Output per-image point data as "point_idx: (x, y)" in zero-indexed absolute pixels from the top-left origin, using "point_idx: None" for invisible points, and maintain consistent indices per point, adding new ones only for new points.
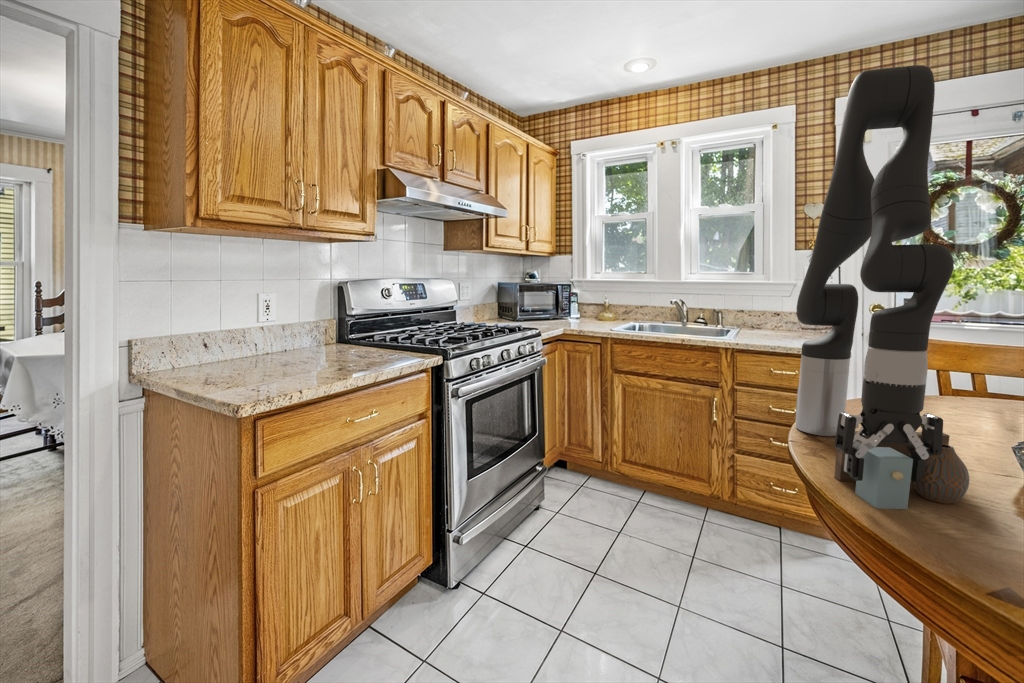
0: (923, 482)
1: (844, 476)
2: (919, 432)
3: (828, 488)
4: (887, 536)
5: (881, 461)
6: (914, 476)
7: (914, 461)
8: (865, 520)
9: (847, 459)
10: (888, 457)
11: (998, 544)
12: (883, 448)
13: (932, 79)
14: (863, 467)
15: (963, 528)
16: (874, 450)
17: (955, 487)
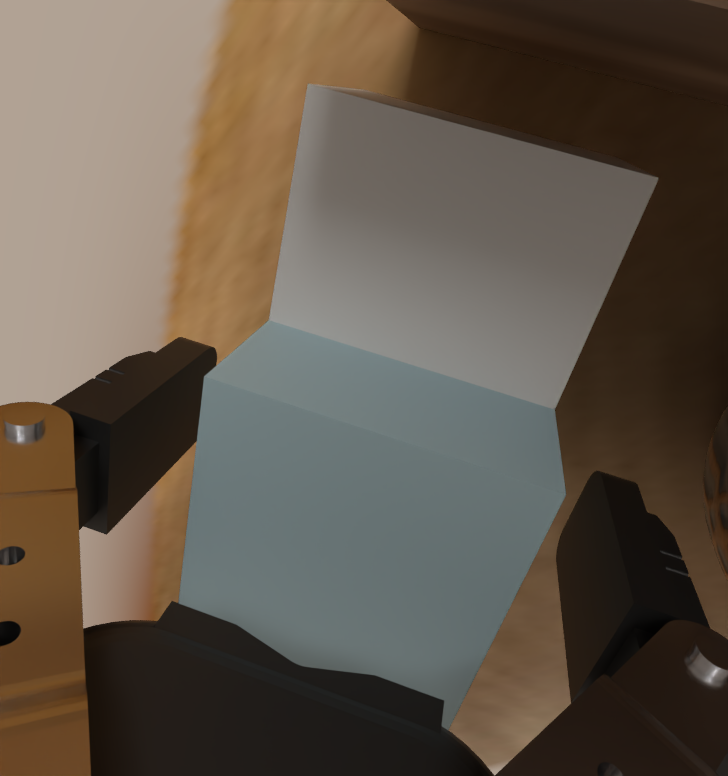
0: (707, 500)
1: (449, 30)
2: None
3: (242, 135)
4: (174, 575)
5: None
6: (565, 560)
7: (584, 645)
8: (179, 478)
9: (66, 395)
10: None
11: (524, 728)
12: (441, 497)
13: None
14: (151, 486)
15: (533, 641)
16: (280, 503)
17: None
